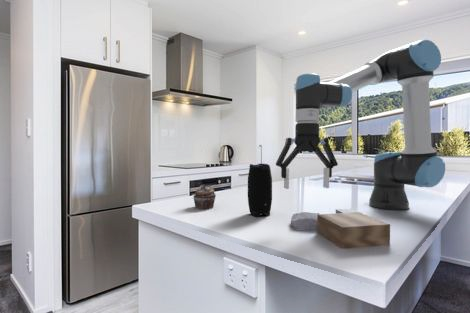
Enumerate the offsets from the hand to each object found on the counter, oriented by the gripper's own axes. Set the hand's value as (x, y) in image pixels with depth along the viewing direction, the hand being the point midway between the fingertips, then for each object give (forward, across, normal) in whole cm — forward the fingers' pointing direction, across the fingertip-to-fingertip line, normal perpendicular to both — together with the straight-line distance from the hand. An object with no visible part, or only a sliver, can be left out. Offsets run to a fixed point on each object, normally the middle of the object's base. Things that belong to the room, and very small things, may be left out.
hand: (306, 187), depth 95 cm
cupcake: (+13, -33, +34) cm, 49 cm away
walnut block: (+13, +8, -13) cm, 21 cm away
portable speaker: (+13, -12, +18) cm, 25 cm away
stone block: (+13, +1, +2) cm, 13 cm away
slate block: (+13, +14, -1) cm, 19 cm away
